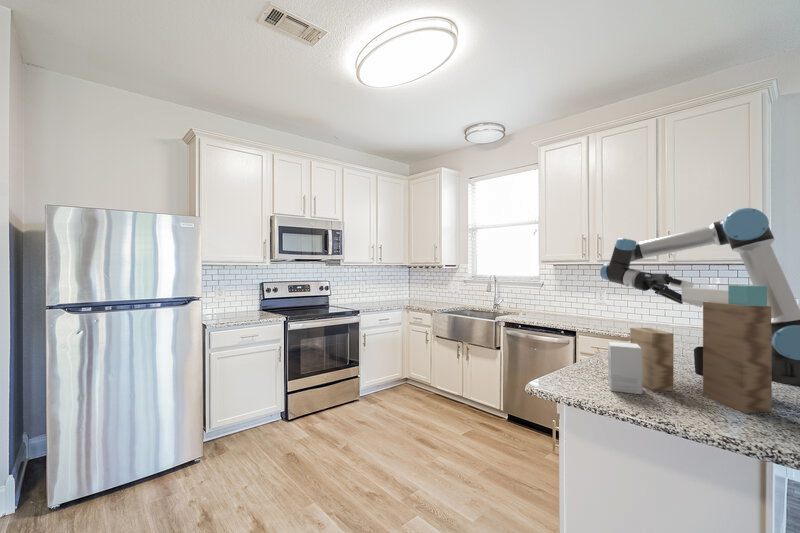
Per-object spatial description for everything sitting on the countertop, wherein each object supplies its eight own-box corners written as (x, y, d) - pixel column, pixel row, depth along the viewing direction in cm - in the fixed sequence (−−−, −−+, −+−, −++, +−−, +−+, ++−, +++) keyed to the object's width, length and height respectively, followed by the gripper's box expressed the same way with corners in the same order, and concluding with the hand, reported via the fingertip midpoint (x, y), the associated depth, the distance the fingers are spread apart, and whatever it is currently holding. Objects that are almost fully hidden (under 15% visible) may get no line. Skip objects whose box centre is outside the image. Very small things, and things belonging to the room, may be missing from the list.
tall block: (728, 395, 117) (728, 302, 118) (771, 412, 103) (771, 306, 104) (703, 395, 118) (703, 301, 118) (742, 411, 104) (742, 305, 104)
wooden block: (649, 380, 134) (649, 327, 134) (673, 390, 122) (673, 333, 122) (630, 379, 134) (630, 327, 134) (652, 390, 122) (652, 333, 122)
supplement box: (638, 387, 125) (638, 343, 125) (642, 395, 117) (642, 348, 117) (607, 383, 129) (607, 340, 129) (610, 390, 121) (610, 345, 121)
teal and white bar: (679, 298, 130) (679, 283, 130) (695, 299, 130) (695, 283, 130) (746, 305, 104) (746, 286, 104) (767, 306, 104) (767, 286, 104)
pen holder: (687, 371, 146) (687, 346, 147) (710, 371, 147) (710, 346, 147) (708, 378, 137) (708, 351, 137) (732, 378, 137) (732, 351, 138)
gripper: (645, 301, 158) (702, 318, 140) (622, 272, 146) (681, 287, 127) (653, 286, 159) (711, 302, 140) (631, 256, 146) (692, 269, 128)
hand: (697, 295), depth 134 cm, fingers open, 13 cm apart
